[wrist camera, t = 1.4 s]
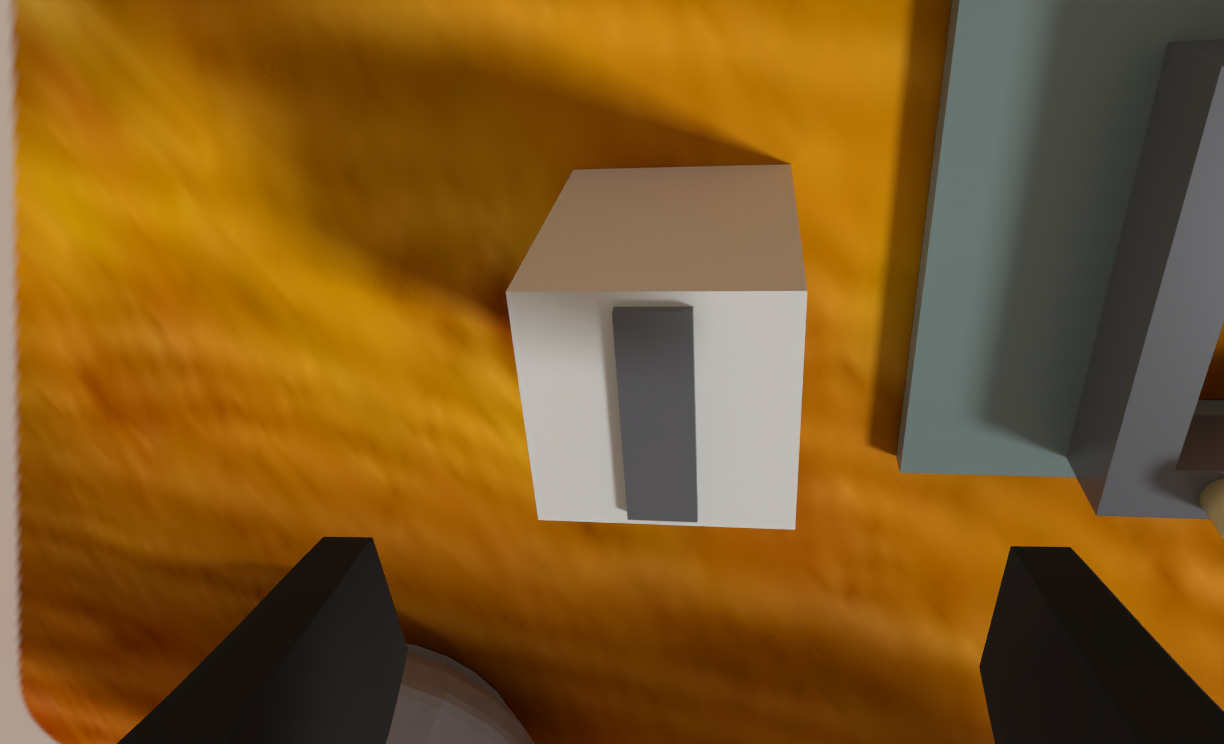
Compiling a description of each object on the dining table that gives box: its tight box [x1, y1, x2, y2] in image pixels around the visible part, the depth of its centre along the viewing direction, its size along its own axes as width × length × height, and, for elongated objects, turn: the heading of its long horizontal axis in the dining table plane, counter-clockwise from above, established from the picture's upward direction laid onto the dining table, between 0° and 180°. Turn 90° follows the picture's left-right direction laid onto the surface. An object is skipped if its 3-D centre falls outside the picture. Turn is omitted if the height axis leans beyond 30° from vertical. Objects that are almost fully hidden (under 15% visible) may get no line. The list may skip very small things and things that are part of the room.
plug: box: [506, 164, 807, 530], centre depth 16 cm, size 4×4×6 cm
